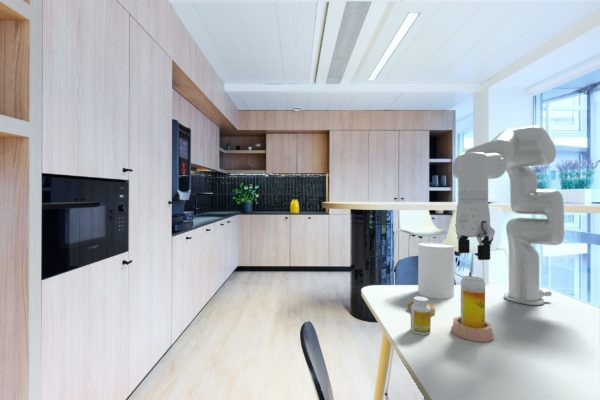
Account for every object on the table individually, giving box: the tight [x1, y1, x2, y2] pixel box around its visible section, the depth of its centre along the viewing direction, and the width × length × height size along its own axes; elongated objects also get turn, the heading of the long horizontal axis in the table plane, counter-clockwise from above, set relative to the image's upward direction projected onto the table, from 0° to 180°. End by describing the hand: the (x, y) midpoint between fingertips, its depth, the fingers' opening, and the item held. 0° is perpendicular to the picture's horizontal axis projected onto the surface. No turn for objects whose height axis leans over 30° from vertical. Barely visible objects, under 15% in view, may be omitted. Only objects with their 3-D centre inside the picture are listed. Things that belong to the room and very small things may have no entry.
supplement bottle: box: [410, 295, 432, 336], centre depth 91 cm, size 5×5×10 cm
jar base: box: [450, 316, 495, 343], centre depth 90 cm, size 11×11×3 cm
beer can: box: [460, 275, 486, 328], centre depth 90 cm, size 6×6×15 cm
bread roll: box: [407, 299, 436, 316], centre depth 107 cm, size 8×9×4 cm
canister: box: [417, 242, 455, 300], centre depth 129 cm, size 14×14×20 cm
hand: (473, 256), depth 90 cm, fingers open, 9 cm apart
